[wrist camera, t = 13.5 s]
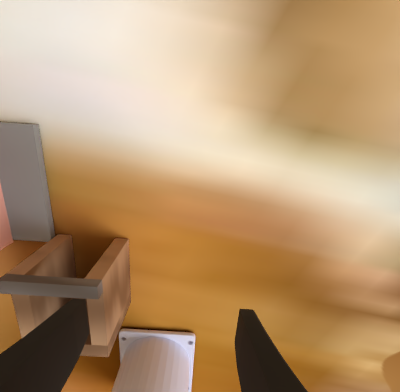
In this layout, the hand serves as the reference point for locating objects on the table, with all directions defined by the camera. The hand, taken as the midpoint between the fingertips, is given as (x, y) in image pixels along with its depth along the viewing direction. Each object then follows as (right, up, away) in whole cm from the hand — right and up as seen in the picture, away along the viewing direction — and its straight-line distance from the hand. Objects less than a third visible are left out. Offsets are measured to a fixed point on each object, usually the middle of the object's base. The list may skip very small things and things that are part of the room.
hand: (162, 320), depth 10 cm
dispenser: (-8, -1, +11) cm, 14 cm away
